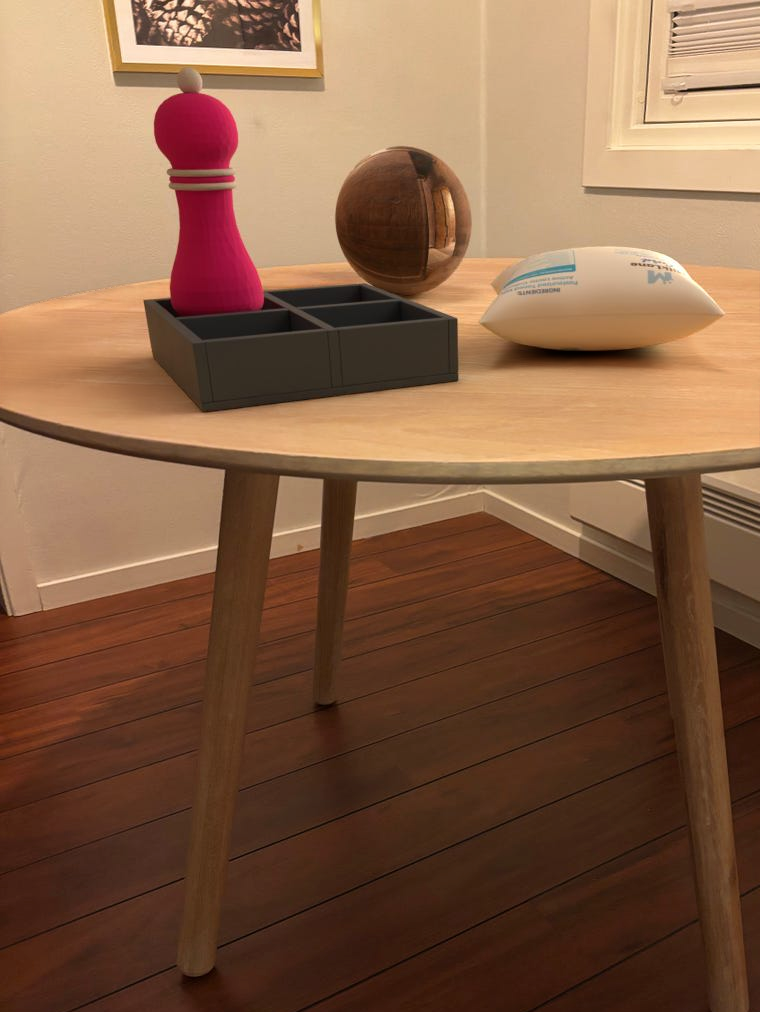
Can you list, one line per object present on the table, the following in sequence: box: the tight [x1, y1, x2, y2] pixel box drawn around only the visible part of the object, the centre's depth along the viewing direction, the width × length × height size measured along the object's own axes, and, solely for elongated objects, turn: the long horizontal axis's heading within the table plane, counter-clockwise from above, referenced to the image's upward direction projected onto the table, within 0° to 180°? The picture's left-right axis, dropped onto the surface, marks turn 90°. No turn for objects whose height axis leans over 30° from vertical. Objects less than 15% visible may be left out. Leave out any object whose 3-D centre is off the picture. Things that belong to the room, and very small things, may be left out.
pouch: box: [477, 246, 726, 352], centre depth 82 cm, size 8×19×20 cm
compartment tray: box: [143, 282, 460, 413], centre depth 75 cm, size 19×19×5 cm
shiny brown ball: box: [334, 145, 473, 296], centre depth 104 cm, size 15×15×15 cm
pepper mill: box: [153, 67, 264, 317], centre depth 73 cm, size 7×7×20 cm
